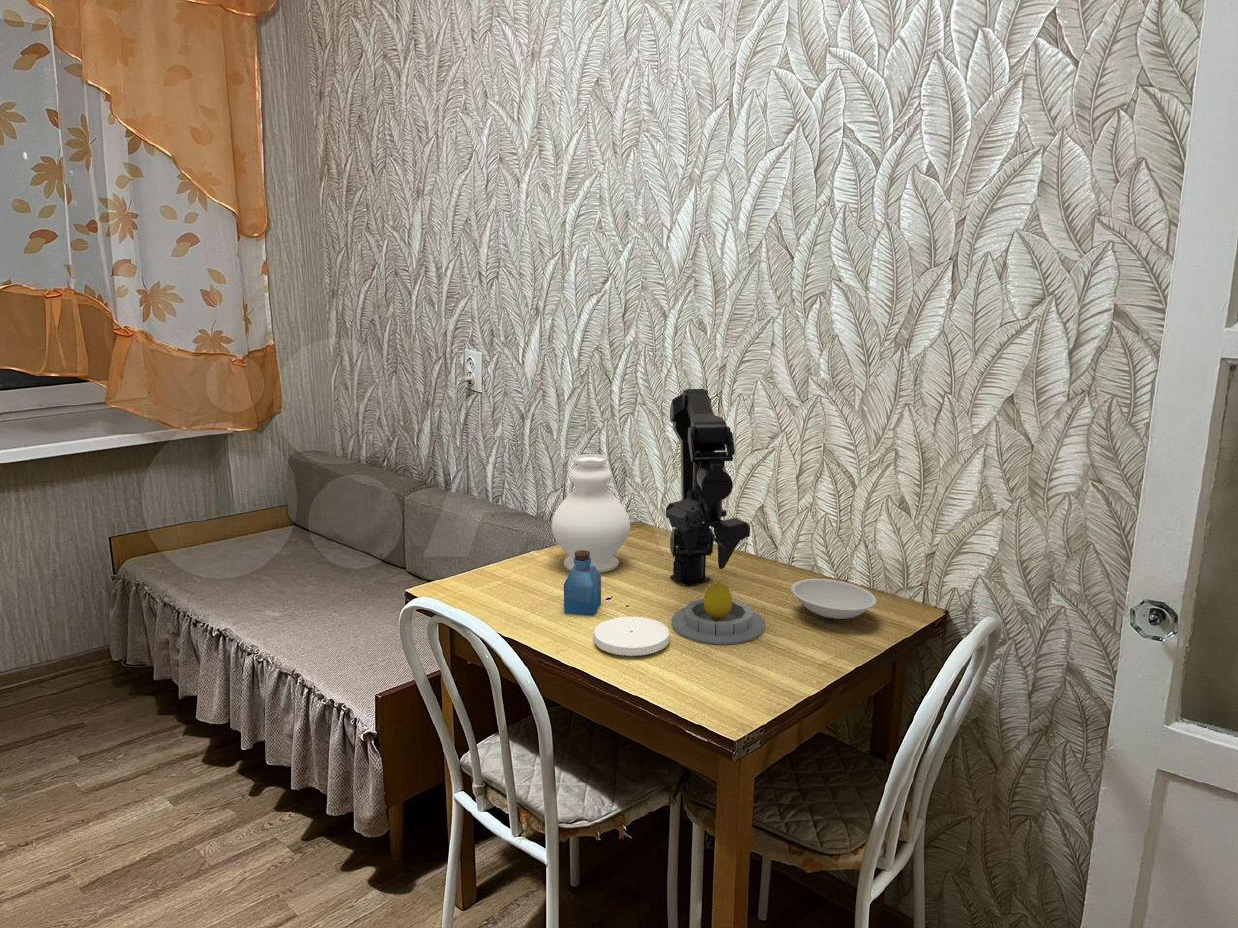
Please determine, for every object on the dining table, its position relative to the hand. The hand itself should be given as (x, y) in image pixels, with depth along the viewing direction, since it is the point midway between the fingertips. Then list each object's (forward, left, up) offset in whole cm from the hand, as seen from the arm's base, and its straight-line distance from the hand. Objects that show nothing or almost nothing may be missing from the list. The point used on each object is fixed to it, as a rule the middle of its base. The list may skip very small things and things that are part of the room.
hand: (705, 561), depth 185 cm
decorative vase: (+2, -38, -12) cm, 40 cm away
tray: (+1, +5, -12) cm, 12 cm away
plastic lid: (+19, +1, -12) cm, 22 cm away
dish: (-20, +15, -12) cm, 28 cm away
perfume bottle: (+18, -17, -12) cm, 27 cm away
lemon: (+1, +5, -11) cm, 12 cm away
